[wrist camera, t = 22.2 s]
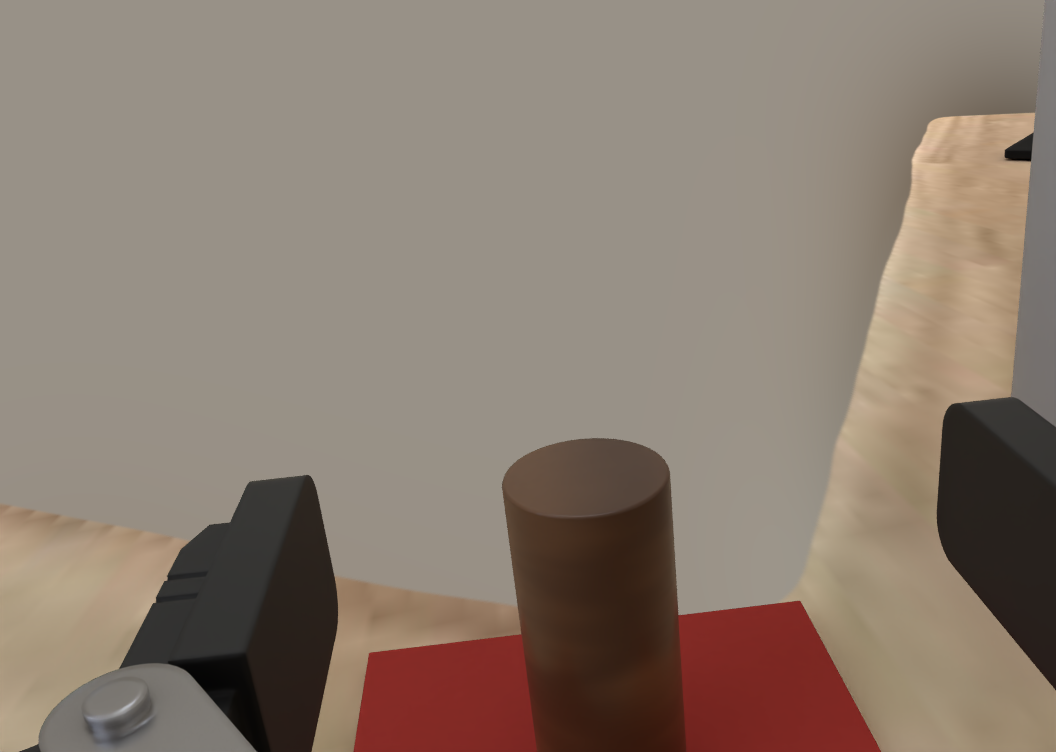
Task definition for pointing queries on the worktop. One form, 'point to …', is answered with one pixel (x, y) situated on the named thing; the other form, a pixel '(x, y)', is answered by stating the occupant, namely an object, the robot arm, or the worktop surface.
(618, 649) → the roller
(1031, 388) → the gray pitcher
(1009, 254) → the worktop surface
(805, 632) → the red pad
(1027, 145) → the cell phone
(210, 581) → the robot arm
